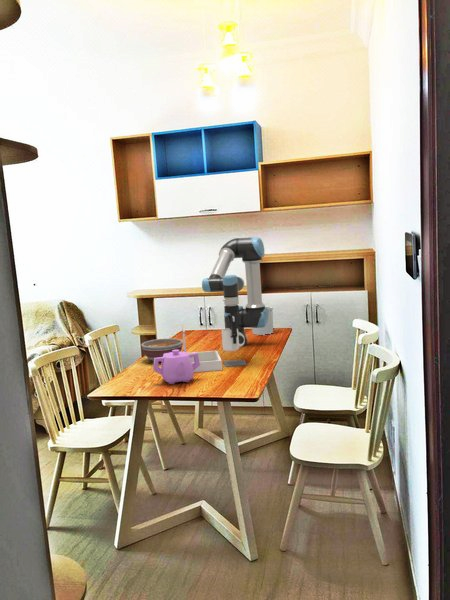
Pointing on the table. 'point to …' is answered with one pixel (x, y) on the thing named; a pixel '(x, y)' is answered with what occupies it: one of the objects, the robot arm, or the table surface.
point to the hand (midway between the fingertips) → (233, 347)
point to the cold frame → (205, 358)
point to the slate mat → (234, 363)
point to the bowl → (160, 347)
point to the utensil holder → (269, 326)
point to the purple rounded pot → (176, 366)
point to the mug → (230, 339)
